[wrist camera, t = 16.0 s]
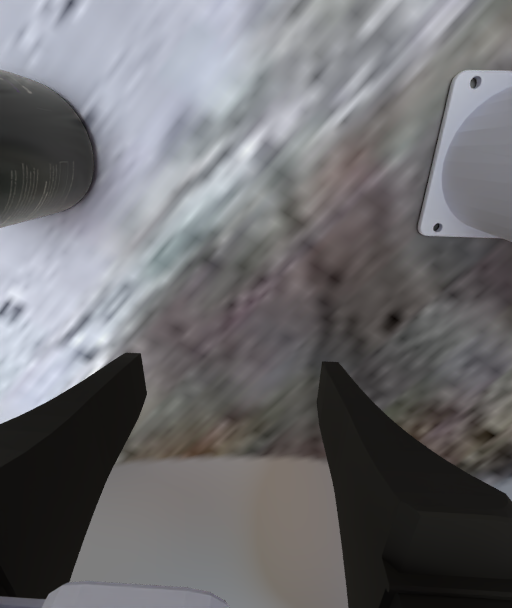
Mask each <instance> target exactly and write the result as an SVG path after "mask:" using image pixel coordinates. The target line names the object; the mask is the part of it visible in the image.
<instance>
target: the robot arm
mask: <svg viewBox="0 0 512 608" xmlns="http://www.w3.org/2000/svg"><path fill="white" fill-rule="evenodd" d="M472 78H475V79H476V80H477V84H476V86H475V88H474V89H473V88H471V87H470V81H471V79H472ZM437 223H439V228H438V229H437V230H435V231H434V230H433V227H434V225H435V224H437ZM418 231H419V233H421V234H422V235H425V236H446V237H476V238H502V239H505V240H508V241H510V242H512V71H498V70H465V71H462V72H460V73H458V74H457V75H456V76H455V77H454V78H453V80H452V82H451V86H450V90H449V95H448V99H447V103H446V107H445V112H444V116H443V120H442V125H441V129H440V133H439V137H438V142H437V146H436V150H435V155H434V159H433V163H432V167H431V172H430V176H429V180H428V184H427V189H426V193H425V197H424V202H423V206H422V210H421V214H420V219H419V223H418ZM146 395H147V391H146V385H145V378H144V372H143V365H142V358H141V353H125V354H123V355H121V356H120V357H118V358H116V359H115V360H113V361H112V362H110V363H109V364H107V365H106V366H104V367H103V368H101V369H100V370H98V371H97V372H95V373H94V374H92V375H91V376H89V377H88V378H86V379H85V380H83V381H82V382H80V383H78V384H77V385H75V386H73V387H72V388H70V389H69V390H67V391H65V392H64V393H62V394H60V395H59V396H57V397H55V398H53V399H52V400H50V401H48V402H46V403H44V404H42V405H40V406H38V407H36V408H35V409H33V410H31V411H29V412H27V413H24V414H22V415H20V416H18V417H16V418H13V419H11V420H9V421H7V422H4V423H2V424H0V608H230V607H229V605H228V604H227V602H226V601H225V600H223V599H221V598H219V597H218V596H216V595H214V594H213V593H211V592H208V591H203V590H198V589H193V588H188V587H173V586H157V585H143V584H127V583H112V582H111V583H110V582H96V581H79V582H69V581H70V578H71V575H72V572H73V569H74V566H75V563H76V560H77V558H78V554H79V552H80V549H81V546H82V543H83V540H84V537H85V535H86V532H87V529H88V527H89V524H90V521H91V518H92V516H93V513H94V511H95V508H96V505H97V503H98V500H99V498H100V495H101V493H102V490H103V488H104V485H105V483H106V481H107V478H108V476H109V474H110V472H111V470H112V468H113V466H114V464H115V462H116V460H117V458H118V456H119V454H120V453H121V451H122V449H123V447H124V445H125V443H126V441H127V439H128V437H129V435H130V433H131V431H132V429H133V427H134V426H135V424H136V422H137V420H138V418H139V415H140V412H141V410H142V407H143V404H144V401H145V398H146ZM317 408H318V418H319V426H320V431H321V435H322V439H323V443H324V448H325V452H326V456H327V460H328V464H329V469H330V473H331V477H332V481H333V486H334V492H335V498H336V504H337V512H338V520H339V527H340V535H341V543H342V550H343V560H344V569H345V578H346V585H347V586H346V587H347V596H348V607H349V608H512V501H511V500H510V499H509V497H508V496H507V495H506V494H505V493H503V492H501V491H499V490H498V489H496V488H494V487H492V486H490V485H488V484H486V483H485V482H483V481H481V480H479V479H477V478H475V477H473V476H471V475H470V474H468V473H466V472H464V471H463V470H461V469H460V468H458V467H456V466H455V465H453V464H451V463H450V462H448V461H446V460H445V459H443V458H442V457H440V456H439V455H437V454H436V453H434V452H433V451H431V450H430V449H429V448H427V447H426V446H424V445H423V444H422V443H420V442H419V441H417V440H416V439H415V438H413V437H412V436H411V435H409V434H408V433H407V432H406V431H404V430H403V429H402V428H401V427H400V426H398V425H397V424H396V423H395V422H394V421H392V420H391V419H390V418H389V417H388V416H387V415H386V414H385V413H384V412H383V411H382V410H381V409H379V408H378V407H377V406H376V405H375V404H374V403H373V402H372V401H371V400H370V399H369V397H368V396H367V395H366V394H365V393H364V392H363V391H362V390H361V389H360V388H359V386H358V385H357V384H356V383H355V382H354V381H353V379H352V378H351V377H350V376H349V375H348V373H347V372H346V371H345V370H344V369H343V367H342V366H341V365H340V364H339V363H338V362H322V368H321V375H320V383H319V390H318V398H317Z"/></svg>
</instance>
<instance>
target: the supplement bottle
mask: <svg viewBox="0 0 512 608" xmlns="http://www.w3.org/2000/svg"><path fill="white" fill-rule="evenodd" d="M93 171H94V157H93V150H92V146H91V142H90V139H89V136H88V134H87V131H86V129H85V127H84V125H83V123H82V122H81V120H80V118H79V117H78V115H77V114H76V113H75V111H74V110H73V109H72V108H71V106H70V105H69V104H68V103H67V102H66V101H65V100H64V99H63V98H61V97H60V96H59V95H58V94H57V93H55V92H54V91H53V90H51V89H50V88H48V87H46V86H44V85H42V84H40V83H38V82H36V81H33V80H31V79H28V78H25V77H22V76H19V75H16V74H13V73H10V72H7V71H3V70H0V228H2V227H6V226H10V225H13V224H17V223H21V222H25V221H29V220H32V219H36V218H40V217H44V216H48V215H51V214H54V213H58V212H61V211H64V210H66V209H69V208H71V207H72V206H74V205H75V204H77V203H78V202H79V201H80V200H81V199H82V198H83V197H84V195H85V194H86V192H87V191H88V189H89V187H90V184H91V181H92V177H93Z"/></svg>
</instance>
